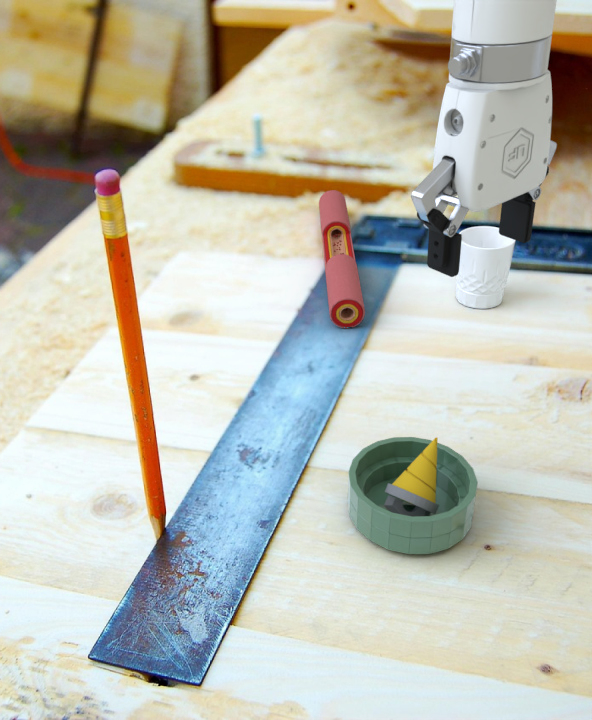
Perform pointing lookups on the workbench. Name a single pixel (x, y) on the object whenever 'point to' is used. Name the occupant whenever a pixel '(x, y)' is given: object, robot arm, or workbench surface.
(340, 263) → the blood vessel
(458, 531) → the bowl
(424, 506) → the drill bit
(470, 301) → the white cup
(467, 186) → the robot arm
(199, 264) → the workbench surface
